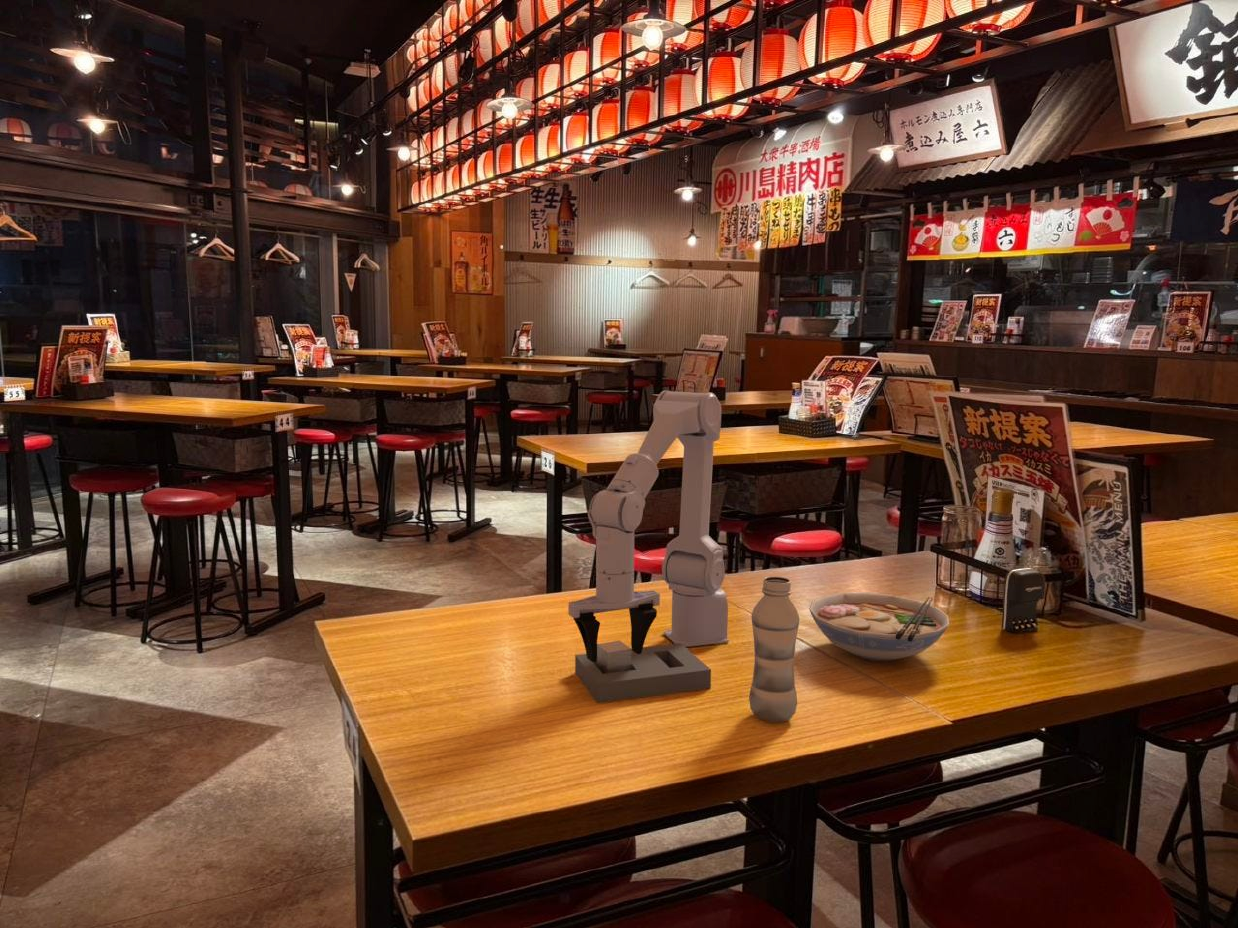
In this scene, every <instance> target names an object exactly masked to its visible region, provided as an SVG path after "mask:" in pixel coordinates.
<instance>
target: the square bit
mask: <svg viewBox="0 0 1238 928" xmlns="http://www.w3.org/2000/svg"><path fill="white" fill-rule="evenodd" d="M631 649H632V647H629V646H628V645H627V644H625V643H624V642H622V641H621V640H613V641H608V642H603V643H597V661H596V666H597V667H598V669H599V670H600V671H601V672H602V674H606V673H614V672H623V671H631Z"/></svg>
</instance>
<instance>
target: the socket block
mask: <svg viewBox="0 0 1238 928" xmlns="http://www.w3.org/2000/svg"><path fill="white" fill-rule="evenodd" d="M574 660H575V661H574V662H575V663H574V664H575V665H574V674H575V675H576V676H577V677H578V679H579V680H580V682H581V683H582V684H583V686H585V689H586V690H587V691H588V692H589V694H590V695H591V697H592V698H593V699H594V700H595V702H596V703H597V704H602V703H603V704H604V703H611V702H618V701H625V700H633V699H639V698H642V699H643V698H648V697H656V696H662V695H664V696H665V695H670V694H679V693H687V692H693V691H702V690H708V689H711V687H712V686H711V685H712V681H711V680H712V669H711V668H710V667H709V666H708V665H706V664H705V663H704V662H703V661H702V660H701V659H700V658H698V657H697V656H696V655H695V654H693V653H692V651H690V650H689V649H688V647H684V646H683V645H682V644H681V643H677V644H675V643H671V644H670V643H669V644H661V645H653V646H643V649H642V653H641V654H637V653H635V652H634V651H632V648H631V671H623V672H614V673H606V674H602V672H601V671H600V670H599V669H598V667H597V666H596V662H591V661H590V660H589V659H588V658H587V654H586V653H581V654H580V653H579V654H574Z"/></svg>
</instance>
